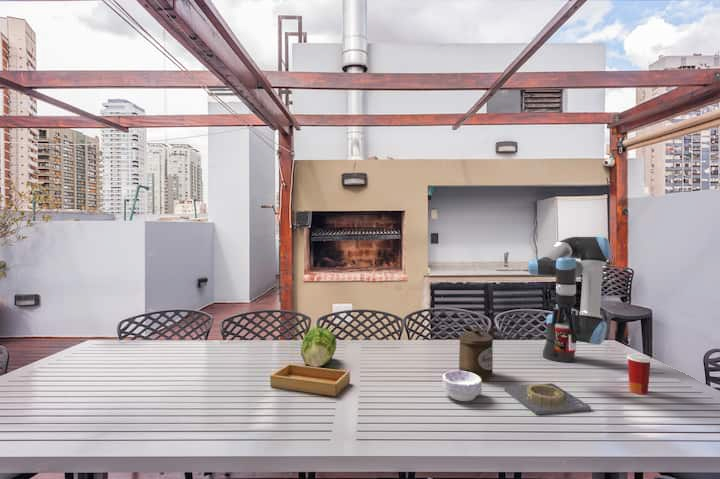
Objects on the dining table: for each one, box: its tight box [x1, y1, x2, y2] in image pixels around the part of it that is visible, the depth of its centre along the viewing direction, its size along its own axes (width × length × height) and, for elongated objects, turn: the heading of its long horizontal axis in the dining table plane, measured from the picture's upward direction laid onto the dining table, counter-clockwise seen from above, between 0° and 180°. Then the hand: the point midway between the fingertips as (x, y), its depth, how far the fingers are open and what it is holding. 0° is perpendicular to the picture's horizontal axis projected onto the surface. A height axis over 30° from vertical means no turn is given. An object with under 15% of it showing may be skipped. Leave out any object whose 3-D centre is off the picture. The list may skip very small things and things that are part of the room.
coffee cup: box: [626, 352, 652, 396], centre depth 158 cm, size 8×8×15 cm
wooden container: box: [458, 326, 494, 382], centre depth 176 cm, size 15×15×22 cm
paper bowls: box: [442, 370, 483, 402], centre depth 153 cm, size 15×15×8 cm
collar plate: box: [503, 382, 592, 416], centre depth 150 cm, size 22×22×4 cm
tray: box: [269, 363, 351, 397], centre depth 165 cm, size 31×15×6 cm, turn 69°
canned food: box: [555, 323, 577, 354], centre depth 163 cm, size 8×8×11 cm
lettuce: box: [300, 327, 337, 368], centre depth 191 cm, size 18×23×19 cm
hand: (565, 346), depth 163 cm, fingers closed on canned food, 8 cm apart
